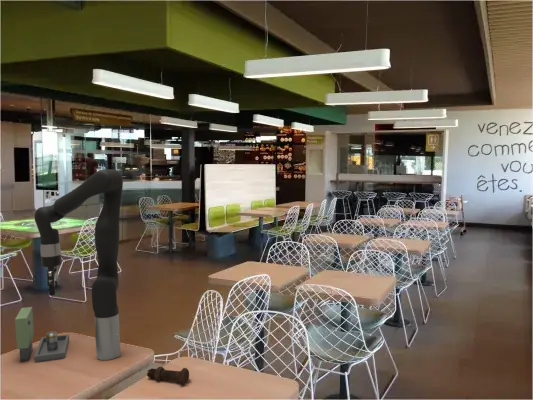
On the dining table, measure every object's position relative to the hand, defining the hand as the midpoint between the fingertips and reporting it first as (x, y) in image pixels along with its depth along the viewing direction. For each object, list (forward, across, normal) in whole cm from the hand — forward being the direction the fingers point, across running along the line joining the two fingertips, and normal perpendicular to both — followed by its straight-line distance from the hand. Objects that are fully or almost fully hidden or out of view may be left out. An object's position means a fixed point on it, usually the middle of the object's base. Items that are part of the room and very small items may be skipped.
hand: (53, 292), depth 192 cm
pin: (+24, -2, +2) cm, 24 cm away
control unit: (+24, -4, +11) cm, 27 cm away
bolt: (+25, -45, -40) cm, 65 cm away
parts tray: (+24, -2, +1) cm, 24 cm away
